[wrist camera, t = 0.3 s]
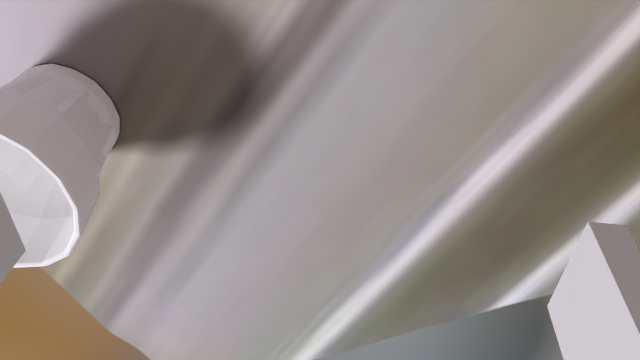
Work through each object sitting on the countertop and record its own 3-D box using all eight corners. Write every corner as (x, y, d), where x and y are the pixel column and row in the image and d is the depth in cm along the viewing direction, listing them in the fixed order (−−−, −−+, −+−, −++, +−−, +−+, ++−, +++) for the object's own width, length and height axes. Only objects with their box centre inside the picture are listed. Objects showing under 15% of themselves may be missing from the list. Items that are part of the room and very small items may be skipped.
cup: (-46, 66, 40) (-168, 145, 31) (83, 14, 36) (-13, 88, 27) (56, 188, 47) (-21, 282, 38) (173, 155, 43) (119, 250, 34)
